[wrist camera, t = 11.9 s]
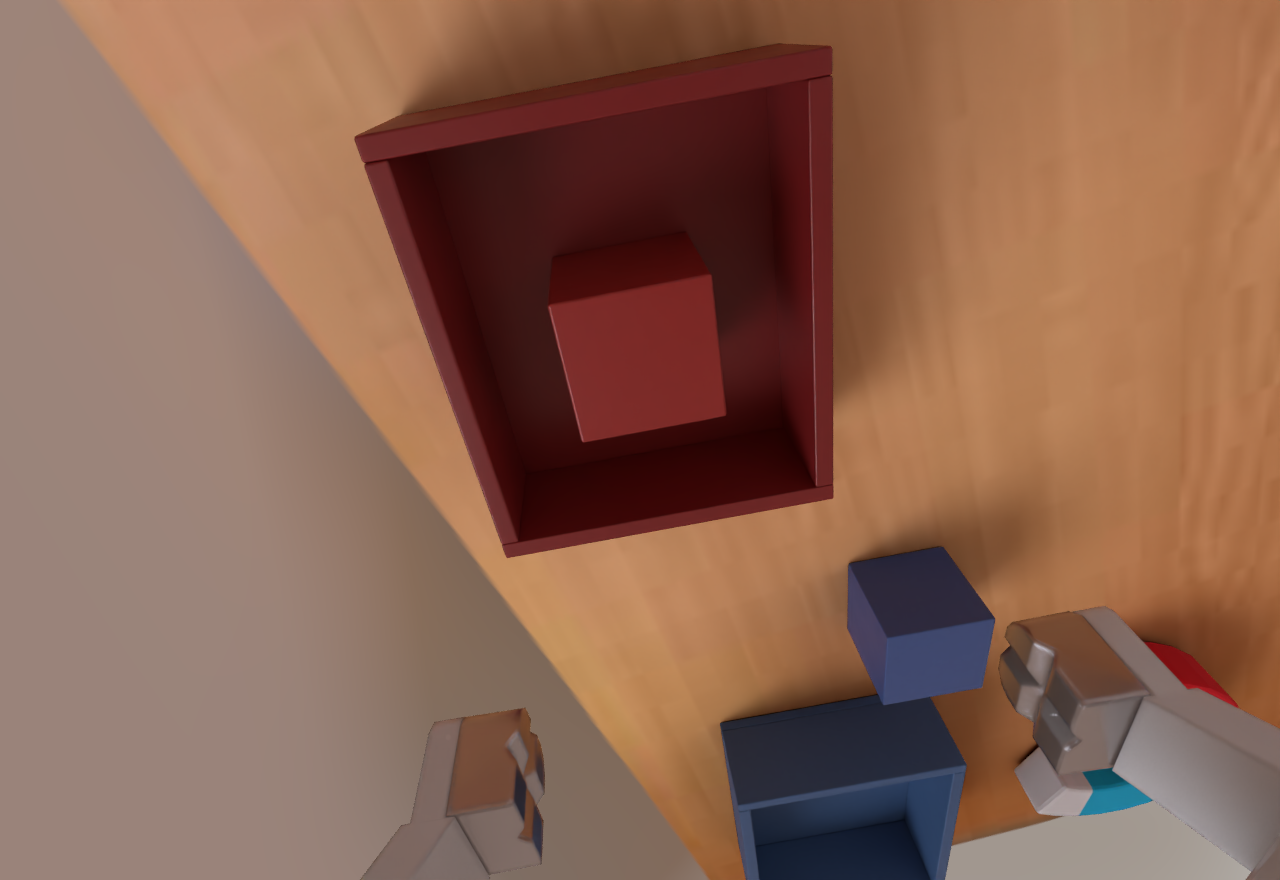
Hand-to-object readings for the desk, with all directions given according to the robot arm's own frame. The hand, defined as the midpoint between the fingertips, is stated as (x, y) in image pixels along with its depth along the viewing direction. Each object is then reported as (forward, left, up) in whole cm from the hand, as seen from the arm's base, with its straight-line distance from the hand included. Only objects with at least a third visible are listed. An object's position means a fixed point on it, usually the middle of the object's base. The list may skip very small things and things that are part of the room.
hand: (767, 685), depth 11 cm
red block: (-2, -1, -14) cm, 14 cm away
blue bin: (+29, +5, -15) cm, 33 cm away
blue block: (+15, +9, -15) cm, 22 cm away
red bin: (-2, -1, -15) cm, 15 cm away
